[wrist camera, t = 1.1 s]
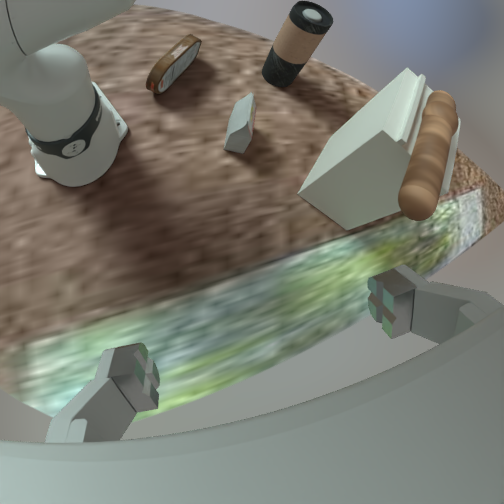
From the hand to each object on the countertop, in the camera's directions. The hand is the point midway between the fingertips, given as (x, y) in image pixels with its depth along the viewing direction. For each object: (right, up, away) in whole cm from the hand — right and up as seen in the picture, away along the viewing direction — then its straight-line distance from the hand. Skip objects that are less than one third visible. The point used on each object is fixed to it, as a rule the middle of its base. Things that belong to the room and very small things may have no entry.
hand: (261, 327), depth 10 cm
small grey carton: (-3, +24, +45) cm, 51 cm away
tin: (-16, +38, +43) cm, 59 cm away
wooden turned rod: (+21, +15, +22) cm, 34 cm away
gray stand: (+17, +17, +49) cm, 54 cm away
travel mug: (+5, +41, +49) cm, 64 cm away
